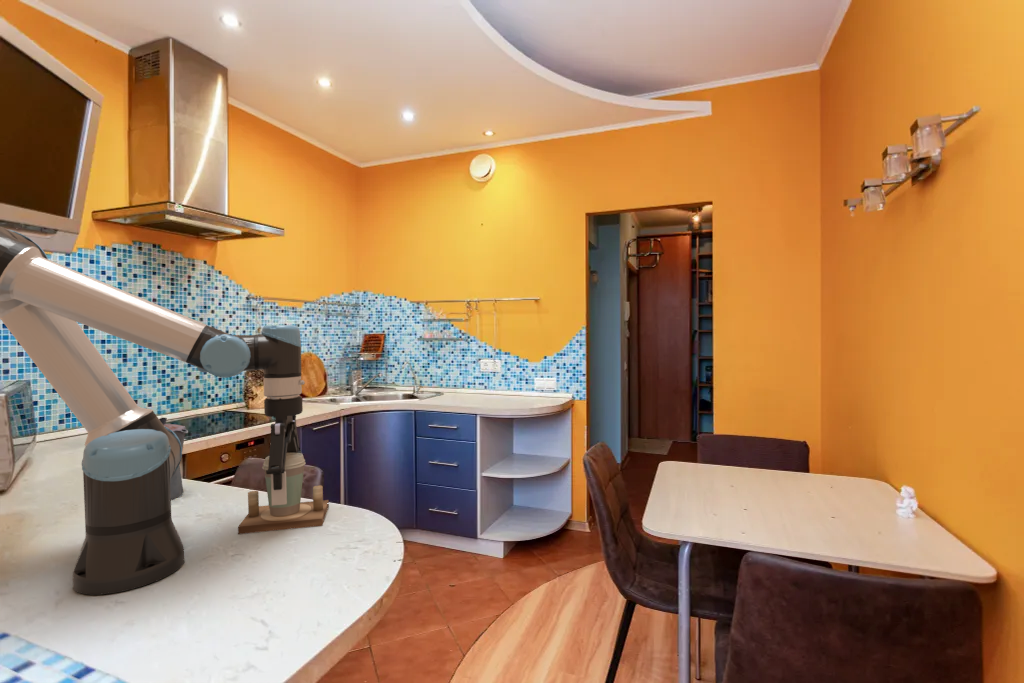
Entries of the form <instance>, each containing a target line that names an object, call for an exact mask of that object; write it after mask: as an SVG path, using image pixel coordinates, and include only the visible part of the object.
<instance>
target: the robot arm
mask: <svg viewBox="0 0 1024 683" xmlns="http://www.w3.org/2000/svg"><path fill="white" fill-rule="evenodd" d="M0 321H1V322H2V323H3V324H4V325H5V327H6V328H7V329H8V331H9V333H11V335H12V336H13V338H14V339H15V340H16V342H18V343H19V345H20V346H21V347H22V349H23V350H24V352H25V353H26V355H27V356H28V357H29V358H30V359H31V361H32V362H33V363H34V364H35V366H36V367H37V368H38V370H39V371H40V372H41V373H42V374H43V376H44V378H45V380H47V381H48V383H49V384H50V386H51V387H52V388H53V389H54V390H55V392H56V394H58V395H59V396H60V398H61V399H62V401H63V402H64V404H66V406H67V407H68V409H69V410H70V411H71V412H72V414H73V415H74V416H75V418H76V419H77V421H78V422H80V424H81V425H82V427H83V428H84V430H86V432H87V436H86V439H85V442H84V449H83V452H82V453H83V454H82V460H81V470H82V476H83V480H82V481H83V500H84V505H83V506H84V523H85V524H84V525H85V527H84V528H85V537H84V540H83V543H82V545H81V549H80V552H79V554H78V558H77V560H76V563H75V566H74V569H73V572H72V588H73V591H75V592H76V593H79V594H83V595H91V596H92V595H93V596H94V595H95V596H97V595H98V596H99V595H108V594H115V593H121V592H125V591H129V590H133V589H138V588H141V587H144V586H146V585H150V584H152V583H155V582H157V581H160V580H162V579H164V578H166V577H169V576H170V575H172V574H173V573H174V572H176V571H177V570H179V569H180V568H182V566H183V565H184V563H185V547H184V544H183V542H182V540H181V537H180V536H179V533H178V530H177V528H176V526H175V525H174V522H173V519H172V499H171V488H170V479H171V477H172V475H173V474H174V473H175V471H176V470H177V468H178V467H179V466H180V464H181V461H182V457H183V450H182V447H181V443H180V440H179V438H178V437H177V435H176V434H175V433H174V432H173V431H172V430H170V429H168V428H167V427H165V426H164V425H163V424H162V423H161V421H160V420H159V419H160V418H159V417H158V416H157V414H156V413H155V412H154V410H153V409H152V408H145V407H142V406H139V405H138V404H137V402H135V400H134V399H133V397H132V396H131V394H130V393H129V392H128V391H127V389H126V388H125V386H124V385H123V384H122V382H121V381H120V380H119V378H118V377H117V375H116V374H115V372H114V371H113V370H112V369H111V367H110V366H109V365H108V363H107V362H106V360H105V359H104V358H103V356H102V355H101V354H100V352H99V351H98V350H97V347H96V346H95V345H94V344H93V343H92V341H91V340H90V338H89V337H88V336H87V334H86V333H85V332H84V330H83V329H82V327H81V326H80V325H79V324H82V325H85V326H87V327H90V328H93V329H95V330H98V331H101V332H104V333H106V334H109V335H111V336H114V337H116V338H119V339H121V340H124V341H126V342H127V341H128V342H130V343H133V344H135V345H138V346H140V347H143V348H145V349H149V350H152V351H153V352H154V351H155V352H157V353H159V354H163V355H165V356H168V357H171V358H173V359H176V360H178V361H181V362H184V363H186V364H188V365H191V366H194V367H196V368H197V370H198V371H199V372H201V373H209V374H211V376H212V375H213V376H214V377H218V378H221V379H223V378H224V379H225V378H231V377H235V376H238V375H240V374H241V373H242V372H245V371H263V396H264V397H265V399H264V400H263V405H264V415H265V416H266V417H268V418H269V417H270V418H272V417H273V418H275V420H274V423H272V424H271V425H270V443H269V455H268V456H269V466H268V470H266V474H271V498H272V506H273V505H284V504H287V491H286V472H284V471H285V462H286V453H301V454H302V449H301V448H300V445H299V444H300V442H299V436H298V435H299V434H298V428H297V420H296V418H297V415H298V416H299V415H300V414H302V413H303V410H304V409H303V397H302V396H301V394H302V393H303V392H302V391H303V389H302V388H303V387H302V386H303V385H304V384H305V383H306V381H305V380H304V379H302V344H301V343H302V342H301V330H300V328H299V327H298V326H297V325H291V324H288V325H287V324H283V325H282V324H281V325H280V324H279V325H270V324H268V325H264V326H263V327H262V328H261V330H262V331H261V333H260V334H253V335H252V334H251V335H249V334H229V333H227V332H225V331H222V330H220V329H218V328H215V327H213V326H210V325H208V324H206V323H204V322H201V321H199V320H198V321H197V320H195V319H193V318H191V317H189V316H186V315H184V314H182V313H179V312H176V311H174V310H171V309H170V308H167V307H164V306H162V305H160V304H157V303H155V302H152V301H149V300H147V299H145V298H143V297H140V296H137V295H136V294H133V293H131V292H128V291H125V290H123V289H120V288H118V287H116V286H114V285H111V284H108V283H106V282H103V281H101V280H99V279H96V278H94V277H91V276H90V275H87V274H84V273H82V272H79V271H77V270H75V269H72V268H70V267H68V266H65V265H63V264H60V263H57V262H56V261H52V259H51V260H50V259H49V256H47V254H46V252H45V251H44V250H43V248H42V247H41V246H40V245H39V244H38V243H36V242H35V241H34V240H33V239H31V238H29V237H28V236H26V235H25V234H22V233H19V232H17V231H15V230H12V229H9V228H8V229H7V228H6V227H3V226H1V225H0ZM275 466H278V467H275Z"/></svg>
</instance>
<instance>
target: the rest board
mask: <svg viewBox="0 0 1024 683" xmlns="http://www.w3.org/2000/svg"><path fill="white" fill-rule="evenodd" d="M323 489H324V488H323V485H314V486H313V487H312V501H303V502H301V501H300V510H299V511H298V512H296V513H294V514H291V515H287V516H273V515H271V514H270V509H269V504H268V505H260V504H259V503H260V502H259V501H260V500H259V499H260V498H259V491H258V490H252V491H249V492H247V503H248V505H247V508H248V509H247V510H248V513H247V514H246V515H245V517H244V518H243V520H242V521H241V522H240V523H239V525H238V526H237V535H243V534H252V533H253V534H255V533H261V532H272V531H273V532H274V531H282V530H291V529H292V530H293V529H302V528H311V527H312V528H313V527H320V526H321V527H322V526H323V523H324V522H325V518H326V515H327V512H328V510H329V507H330V504H327V503H330V502H329V499H325V500H324V494H323V493H324V491H323Z"/></svg>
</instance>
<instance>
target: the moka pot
mask: <svg viewBox="0 0 1024 683" xmlns="http://www.w3.org/2000/svg"><path fill="white" fill-rule="evenodd" d="M158 419H159V420H160V421H161V423H162V424H163V425H164V426H165V427H167V428H168V429H170V430H172V431H173V432H174V433H175V434H176V435H177V437H178V438H179V440H180V443H181V447H182V451H183V450H184V442H185V436H186V434H189V430H188V429H187V428H186V426H185V425H182V424H181V425H180V424H172V423H171V424H170V423H167V419H168V418H167V417H160V418H158ZM170 488H171V500H174V499H177V498H180V497H181V496H182V495H183V494H184V487H183V480H182V471H181V465H179V467H178V468H177V470H176V471H175V473H174V474H173V475H172V477H171V479H170Z"/></svg>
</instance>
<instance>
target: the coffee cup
mask: <svg viewBox="0 0 1024 683" xmlns="http://www.w3.org/2000/svg"><path fill="white" fill-rule="evenodd" d="M263 461H264V462H263V464H262V467H261V468H262V469H263V470H264V479H265V486H266V493H267V501H268V505H269V509H270V514H271V515H273V516H287V515H291V514H294V513H296V512H298V511H299V510H300V502H301V501H302V500H301V498H302V490H303V489H302V488H303V481H304V471H305V470H304V469H305V465H306V459H305V458H304V455H303V453H302V452H301V453H286V462H285V471H284V472H286V491H287V504H284V505H273V506H272V498H271V474H266V470H268V466H269V455H268V456H266V457H265V458H264V460H263ZM275 467H278V466H275Z"/></svg>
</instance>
